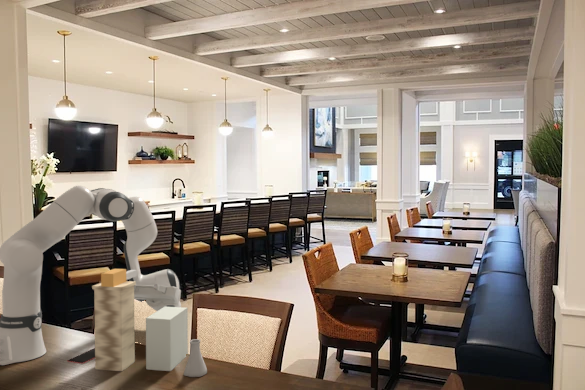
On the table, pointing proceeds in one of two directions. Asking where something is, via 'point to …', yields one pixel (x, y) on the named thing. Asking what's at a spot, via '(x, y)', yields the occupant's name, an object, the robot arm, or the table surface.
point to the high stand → (114, 326)
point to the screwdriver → (116, 277)
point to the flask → (195, 361)
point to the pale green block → (166, 338)
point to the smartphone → (83, 357)
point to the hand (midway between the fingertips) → (143, 285)
